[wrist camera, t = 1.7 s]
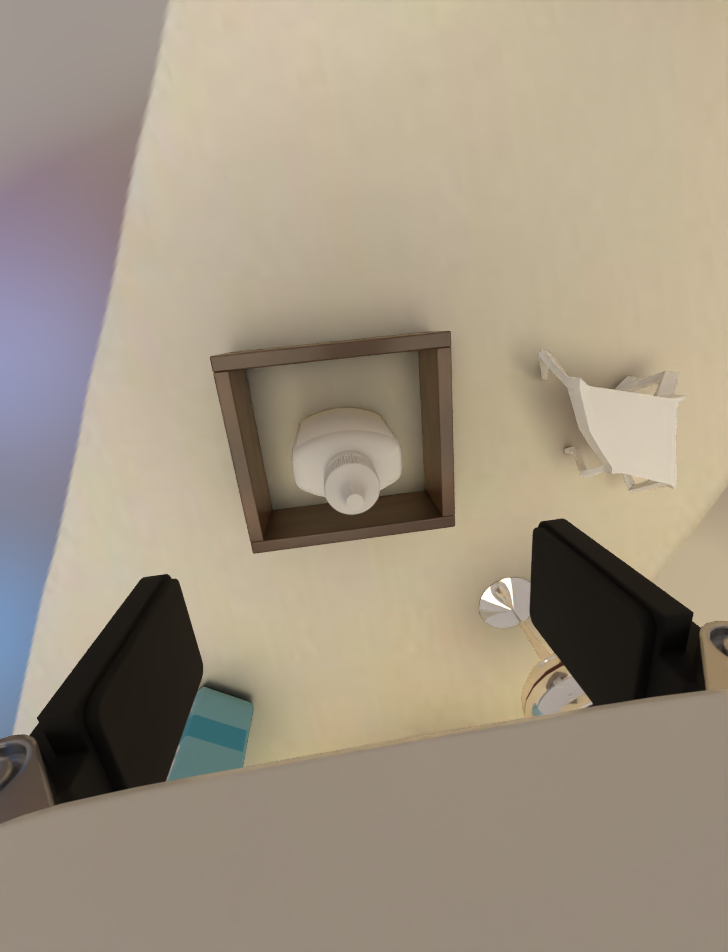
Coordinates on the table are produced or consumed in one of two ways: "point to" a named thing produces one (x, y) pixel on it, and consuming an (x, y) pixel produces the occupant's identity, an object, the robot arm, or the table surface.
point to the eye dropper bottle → (346, 457)
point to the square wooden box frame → (323, 519)
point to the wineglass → (549, 677)
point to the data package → (213, 735)
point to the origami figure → (625, 426)
